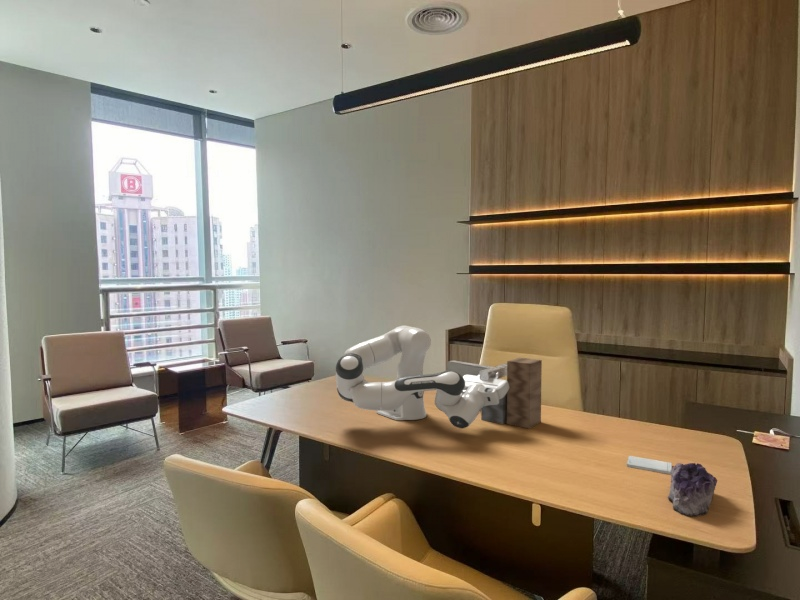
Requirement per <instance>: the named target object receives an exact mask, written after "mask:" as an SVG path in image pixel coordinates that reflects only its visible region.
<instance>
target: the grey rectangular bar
mask: <svg viewBox="0 0 800 600" xmlns="http://www.w3.org/2000/svg"><path fill="white" fill-rule="evenodd" d="M495 372H497V373H499V374H500V376H499V378H498V379H501V378H502V379H503V378H505V377H507V363H502V364H499V365H496V366H491V368H488V369H485V370H481V371H479V379H480V380H487V381H488V380H489V379H490V378H495V376H494V374H495Z"/></svg>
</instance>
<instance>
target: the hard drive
mask: <svg viewBox="0 0 800 600" xmlns="http://www.w3.org/2000/svg"><path fill="white" fill-rule="evenodd" d="M626 468H631V469H637V470H643V471H648V472H655V473H659V474H660V473H661V474H664V475H665V474H667V475H670V476H671V473H670V472H671V469H672V468H673V463H672V462H670V461H669V462H668V461H662V460H656V459H651V458H644V457H638V456H633V455H628V457H627V461H626Z"/></svg>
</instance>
